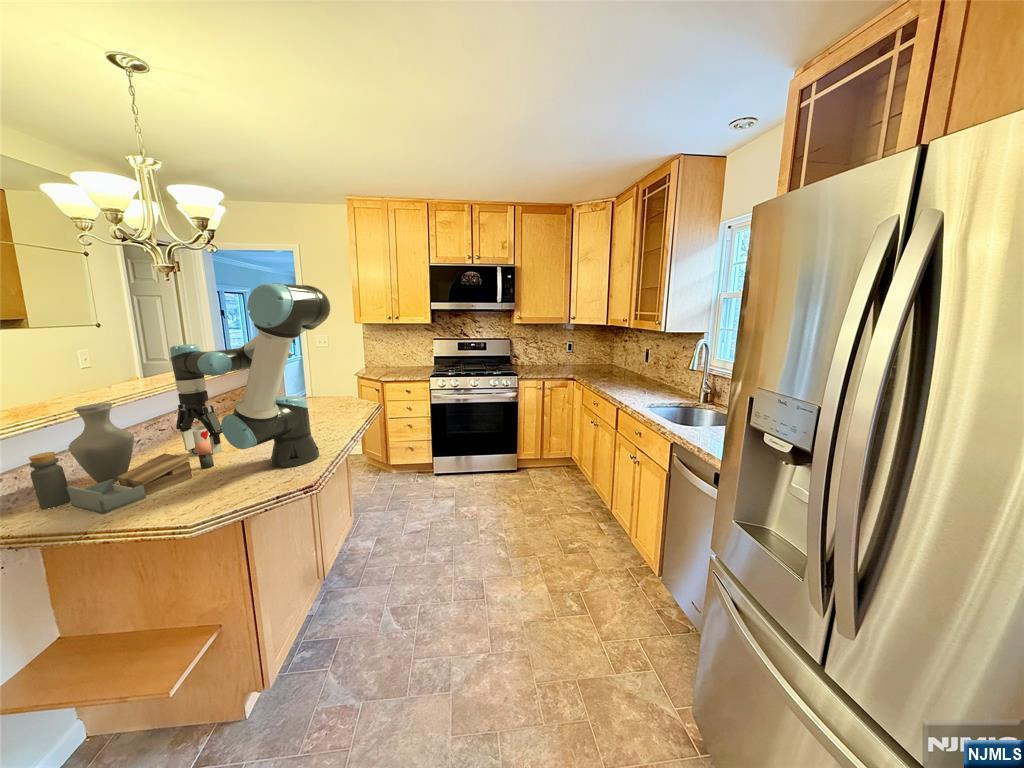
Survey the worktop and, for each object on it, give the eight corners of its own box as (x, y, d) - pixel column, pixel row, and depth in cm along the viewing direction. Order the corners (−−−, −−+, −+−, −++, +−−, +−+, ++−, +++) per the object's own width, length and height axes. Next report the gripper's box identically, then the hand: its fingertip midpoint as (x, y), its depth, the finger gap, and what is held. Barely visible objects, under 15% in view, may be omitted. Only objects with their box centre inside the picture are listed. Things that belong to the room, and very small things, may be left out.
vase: (148, 475, 127) (131, 402, 122) (85, 493, 115) (63, 414, 110) (134, 467, 134) (118, 398, 130) (74, 483, 123) (53, 408, 118)
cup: (189, 459, 140) (184, 433, 138) (183, 455, 145) (178, 429, 143) (216, 452, 146) (211, 427, 144) (209, 448, 151) (204, 424, 149)
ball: (217, 452, 133) (215, 439, 132) (202, 458, 129) (199, 444, 128) (208, 451, 135) (205, 438, 134) (192, 456, 130) (189, 442, 129)
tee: (216, 465, 134) (214, 452, 133) (205, 469, 130) (203, 456, 129) (209, 464, 135) (207, 451, 134) (198, 468, 131) (195, 455, 131)
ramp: (193, 477, 124) (189, 456, 123) (144, 496, 112) (139, 473, 111) (169, 473, 128) (165, 453, 126) (120, 491, 116) (114, 468, 115)
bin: (146, 497, 111) (141, 478, 110) (103, 514, 102) (97, 493, 101) (115, 491, 116) (110, 472, 115) (72, 506, 107) (66, 486, 106)
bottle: (71, 503, 109) (57, 454, 106) (39, 511, 105) (24, 460, 102) (71, 497, 113) (58, 449, 110) (41, 505, 109) (26, 455, 106)
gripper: (230, 391, 127) (240, 451, 131) (180, 386, 135) (191, 443, 139) (205, 396, 120) (217, 459, 124) (155, 391, 128) (167, 450, 132)
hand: (203, 451), depth 132 cm, fingers open, 13 cm apart
